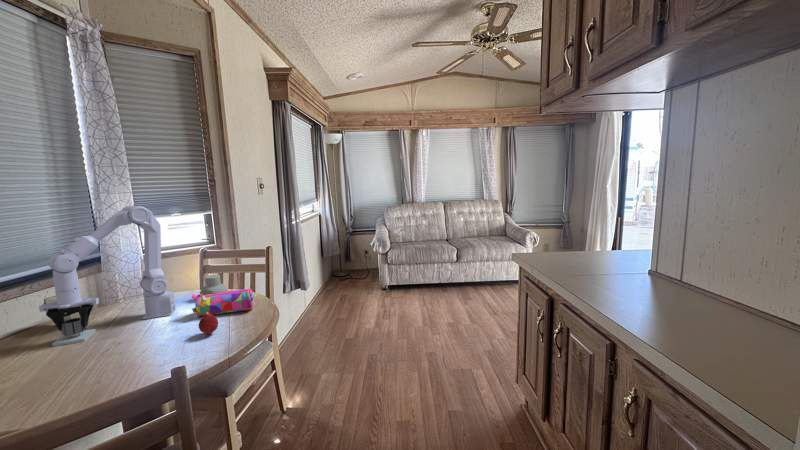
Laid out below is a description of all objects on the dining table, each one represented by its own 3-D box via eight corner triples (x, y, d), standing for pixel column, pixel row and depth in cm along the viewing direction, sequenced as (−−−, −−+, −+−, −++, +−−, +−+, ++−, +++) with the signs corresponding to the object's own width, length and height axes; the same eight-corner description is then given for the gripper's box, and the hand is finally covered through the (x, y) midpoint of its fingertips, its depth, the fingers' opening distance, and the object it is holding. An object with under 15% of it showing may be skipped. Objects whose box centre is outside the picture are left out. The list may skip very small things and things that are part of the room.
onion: (222, 332, 113) (220, 310, 112) (207, 339, 108) (204, 316, 107) (211, 329, 116) (209, 308, 115) (196, 336, 111) (193, 314, 109)
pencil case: (191, 321, 123) (189, 298, 122) (197, 312, 132) (195, 291, 131) (253, 312, 130) (252, 291, 129) (255, 304, 139) (253, 284, 138)
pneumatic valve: (69, 329, 117) (64, 297, 116) (45, 326, 120) (40, 295, 118) (86, 323, 123) (82, 292, 121) (64, 320, 125) (59, 290, 124)
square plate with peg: (95, 331, 115) (94, 320, 115) (84, 341, 108) (83, 330, 108) (66, 335, 112) (64, 325, 112) (52, 346, 105) (50, 334, 105)
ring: (88, 327, 113) (86, 316, 113) (80, 333, 108) (78, 322, 108) (68, 330, 111) (66, 319, 111) (59, 336, 106) (57, 325, 106)
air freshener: (231, 294, 152) (229, 274, 150) (218, 301, 144) (216, 279, 142) (211, 293, 154) (209, 273, 152) (197, 299, 146) (194, 278, 144)
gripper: (30, 296, 101) (37, 337, 103) (89, 289, 107) (95, 328, 109) (44, 289, 108) (50, 328, 110) (99, 283, 114) (104, 320, 115)
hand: (73, 327), depth 110 cm, fingers closed on ring, 5 cm apart
